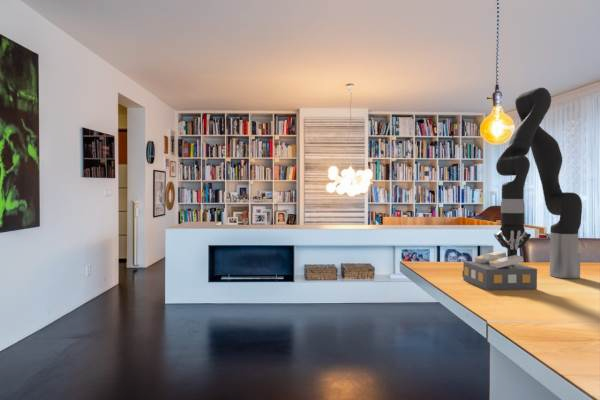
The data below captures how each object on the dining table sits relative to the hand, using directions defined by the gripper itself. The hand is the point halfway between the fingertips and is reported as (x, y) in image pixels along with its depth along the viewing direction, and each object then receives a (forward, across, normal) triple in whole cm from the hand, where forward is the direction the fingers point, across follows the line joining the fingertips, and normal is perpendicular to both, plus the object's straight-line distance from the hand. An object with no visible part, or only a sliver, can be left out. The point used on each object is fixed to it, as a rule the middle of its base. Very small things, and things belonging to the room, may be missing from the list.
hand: (512, 259), depth 145 cm
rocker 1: (+1, +5, 0) cm, 5 cm away
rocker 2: (+1, +5, +5) cm, 7 cm away
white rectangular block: (+1, +5, -5) cm, 7 cm away
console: (+9, +5, 0) cm, 10 cm away
